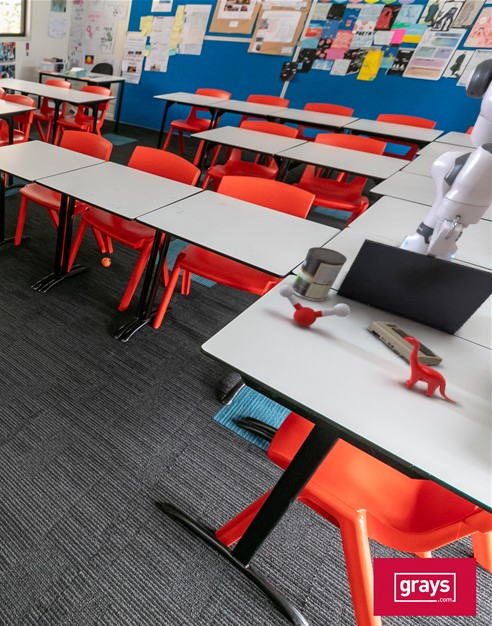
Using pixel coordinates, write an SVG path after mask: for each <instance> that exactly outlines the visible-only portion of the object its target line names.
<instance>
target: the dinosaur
mask: <svg viewBox="0 0 492 626" xmlns="http://www.w3.org/2000/svg"><path fill="white" fill-rule="evenodd" d="M413 337H414V336H412V337H405V340H406V341H408V342H409V344H412V345H414V347H413V350H412V353H411V355H410V364H409V366H410V377H409V379H407V380H406V384H405V385H406V387H407V389H408V388H409V389H412V388H413V387H414V386H415V385H416V384H417V383H418V382H422V383H425V384H427V387H426V388H427V389H426V393H425V395H426V396H428V397H432V396H433V395H434V394H435V392H436V390H437V389H438V391H439V394H440V395H441V396H442V397H443V398H444V399H445V400H447V401H449V402H452V403H454V404H457V402H456V401H455V400H453V399H451V398H449V397H448V396H447V395H446V385H447V381H446V379H445V376H444V375H442V373H441V372H439V371H438V370H436V369H434V368H433V367H431V366H429V365H424V364H421V363H419V361H418V350H419V347H420V345H419V342H420V341H419V340H418V339H417V340H418V341H419V342H418V341H417V340H416V337H414V338H413Z"/></svg>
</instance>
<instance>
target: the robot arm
mask: <svg viewBox="0 0 492 626" xmlns="http://www.w3.org/2000/svg"><path fill="white" fill-rule="evenodd" d="M465 90H466V91H465V94H466V96H468V97H469V98H473V99H479V100H481V105H480V111H479V114H478V116H477V119H476V121H475V123H474V126H473V128H472V130H471V133H470V136H469V139H470V142H471V144H472V145H473V146H474V147H475V148H476V150H475V151H463V150H448V151H446V152H444V153H442V154H441V155H440V156H438V157H437V158H436V159H435V160H434V161H433V163H432V164H431V167H430V176H431V177H432V179H433V181H434V184H435V198H434V201H433V203H432V206H431V208H430V210H429V212H428V213H427V215H426V216H425V219H424V220H423V221H421V222H420V224H419V225H418V226H417V228H416V231H415V232H414V233H410V234H409V235H406V236H404V238H403V240H402V241H403V242H402V243H401V244H400V245H398V246H397V247H398V248H401V249H405V250H409V251H413V252H416V253H420V254H424V255H428V256H431V257H435V258H439V259H443V260H446V261H450V262H452V259H454V258H455V254H456V253H457V251H458V249H459V248H458V244H457V243H456V242H458V241H459V239H460V238H461V237H462V234H463V230H464V229H467V228H468V227H469V226H470V225H477V224H479V222H480V221H481V220H482V218H483V216H484V215H485V214H486V213H487V211H488V210H489V208H490V206H492V58H488V59H484V60H483V61H481V62H480V63H478V64H477V65H476V66H475V68H473V70H471V72H470V73H469V75H468V77H467V79H466V83H465Z"/></svg>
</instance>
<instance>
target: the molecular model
mask: <svg viewBox="0 0 492 626" xmlns="http://www.w3.org/2000/svg"><path fill="white" fill-rule="evenodd" d="M278 292H279V295H280V296H282V298H287V300H288V301H289V303H290V304H291V305H292V307H293V309H294V310H295V311H294V313H293V320H294V322H295V324H297V325H299V326H301V327H309V326H312V325H313V324H314V323H316V321H317V318H323V317H329V316H336V317H340V318H344V317H347V316H348V315H349V314H350V312H351V308H350V307H349V305H348V304H346V303H337V304H336V305H335V306H333V308H327V309H322V310H321V309H320V310H314V309H313V308H311V307H309V306H302V304H301V303H300V301H299V300H298V298H297V297H296V296H295V293H294V288H293V287H292V285H290V284H283V285H281V287H279V290H278Z"/></svg>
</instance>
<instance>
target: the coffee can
mask: <svg viewBox="0 0 492 626" xmlns="http://www.w3.org/2000/svg"><path fill="white" fill-rule="evenodd" d="M347 258H348V257H346V256H345V255H344V254H343V253H341V252H339V251H337V250H334V249H331V248H326V247H320V246H319V247H318V246H317V247H316V246H315V247H314V246H313V247H311V248H309V249H308V250H307V253H306V256H305V257H304V260H303V262H302V264H301V265H300V266H301V267H300V269H299V270H298V272H297V275H296V277H295V279H294V280H293V284H292V285H291V286H292V287H293V288H294V293H293V294H294V295H296V296H298V297H300V298H302V299H305V300H308V301H313V302H322V301H324V300H326V299H327V296H328V294H329V293H330V290H331V289H332V287H333V286H334V283H335V282H336V280H337V278H338V276H339V274H340V273H341V270H342V268H343V267H344V265H345V263H346V262H347V260H348V259H347Z"/></svg>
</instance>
